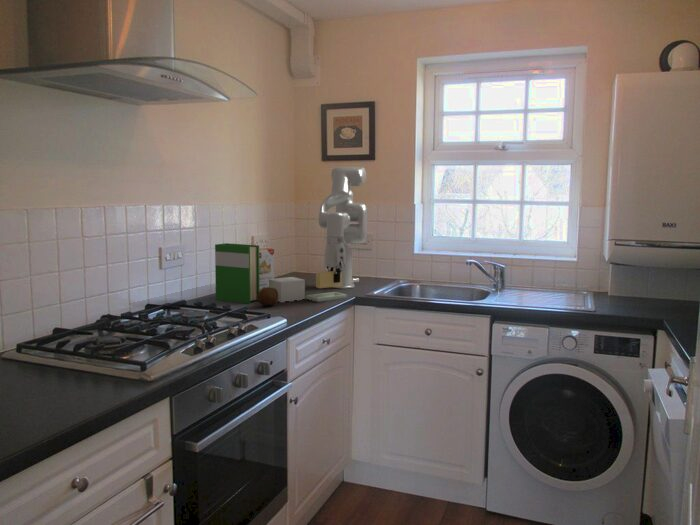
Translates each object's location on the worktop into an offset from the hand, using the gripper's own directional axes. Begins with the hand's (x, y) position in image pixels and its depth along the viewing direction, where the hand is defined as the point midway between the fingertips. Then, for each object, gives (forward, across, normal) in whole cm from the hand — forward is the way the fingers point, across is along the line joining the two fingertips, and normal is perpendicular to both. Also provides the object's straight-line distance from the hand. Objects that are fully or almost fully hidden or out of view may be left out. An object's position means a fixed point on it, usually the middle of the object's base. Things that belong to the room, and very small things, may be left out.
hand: (334, 281), depth 253 cm
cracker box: (+8, +27, +23) cm, 36 cm away
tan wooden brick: (+2, 0, +3) cm, 3 cm away
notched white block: (+8, +10, +19) cm, 22 cm away
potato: (+8, 0, +34) cm, 35 cm away
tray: (+8, 0, +4) cm, 8 cm away
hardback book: (+8, +19, +38) cm, 43 cm away
